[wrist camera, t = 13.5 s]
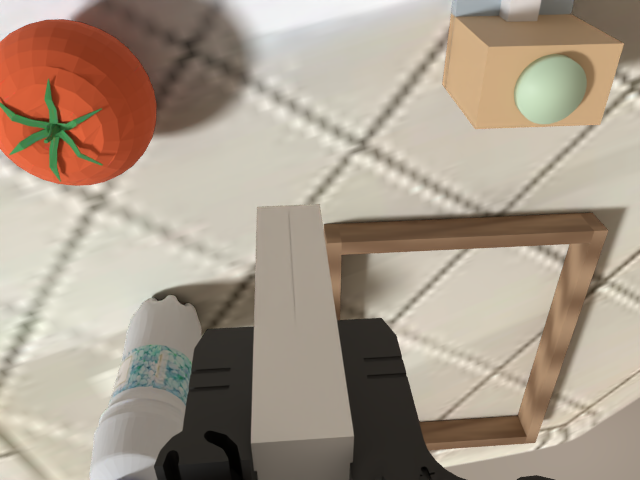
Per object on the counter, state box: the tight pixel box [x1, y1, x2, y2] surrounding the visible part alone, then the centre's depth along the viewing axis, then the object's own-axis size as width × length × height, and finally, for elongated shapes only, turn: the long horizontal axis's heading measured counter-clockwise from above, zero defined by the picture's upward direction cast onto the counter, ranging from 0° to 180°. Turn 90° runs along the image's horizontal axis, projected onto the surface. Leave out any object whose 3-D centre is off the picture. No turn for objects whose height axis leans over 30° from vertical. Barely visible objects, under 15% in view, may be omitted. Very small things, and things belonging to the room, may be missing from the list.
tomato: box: [0, 19, 157, 186], centre depth 36 cm, size 10×10×10 cm
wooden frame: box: [324, 213, 608, 450], centre depth 56 cm, size 28×23×3 cm
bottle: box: [90, 295, 201, 480], centre depth 44 cm, size 7×7×20 cm
